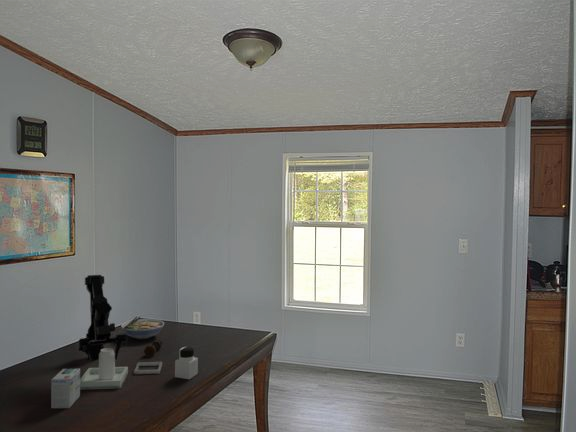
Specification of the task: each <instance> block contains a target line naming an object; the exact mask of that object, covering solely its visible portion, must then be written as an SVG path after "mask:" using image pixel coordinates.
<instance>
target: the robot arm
mask: <svg viewBox="0 0 576 432" xmlns="http://www.w3.org/2000/svg"><path fill="white" fill-rule="evenodd" d="M84 285H85V286H86V291H87V292H88V293H89V299H90V301H89V304H90V306H89V308H90V325H89V327H88V329H87V333H86V336H85V337H83V338H79V339H78V347H77V348H78V349H77V350H78V351H79V352H82V353H85V354H86V356H87V357H86V360H89V361H91V363H94V360H99V353H100V352H101V349H104V348H105V346H104V345H106V344H114V343H115V346H114V347H115V348H114V352H115V361H116V360H118V357H119V351H120V349H122V348H123V347H124V346H126V345H127V341H128V335H127V334H126V333H120V334H118V333H117V334H116V337H112V338H111V336H112V334H111V333H112V332H115V331H116V323H114V322H112V323H110V324H109V318H110V312H111V311H112V308H113V307H112V306H111V305H110V303H108V298H107V297H105V295H104V290H103V287H104V285H105V276H103V275H101V274H90V275H89V274H88V275H87V276H86V277H84Z"/></svg>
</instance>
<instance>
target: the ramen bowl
mask: <svg viewBox="0 0 576 432" xmlns="http://www.w3.org/2000/svg"><path fill="white" fill-rule="evenodd" d="M164 325H165V322H164V321H163V320H160V319H155V318H154V319H152V318H145V319H144V318H143V319H142V318H141V316H139V317H138V316H135V317H134V318H133V319H132V320H129V321H125V322H123V323H121V325H120V327H121V330H122V331H123V332H124V334H126V335H127V337H128V336H129V337H131V338H134V339H137V340H147V339H150V338H151V337H154V336H156V335H157V334H159V333H160V332H161V331H162V330H163V327H164Z"/></svg>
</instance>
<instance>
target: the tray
mask: <svg viewBox="0 0 576 432" xmlns="http://www.w3.org/2000/svg"><path fill="white" fill-rule="evenodd" d="M128 374H129V366H115V376H114V377H113V378H112V379H110V380H101V379H99V367H89V368H88V369H87V370H86V371H85V372H84V374H83V375H82V376H81V377H80V391H83V390H84V391H85V390H86V391H87V390H89V391H90V390H109V389H110V390H111V389H113V390H114V389H121V388H122V386H123V384H124V383H125V380H126V378H127V377H128Z"/></svg>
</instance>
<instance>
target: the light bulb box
mask: <svg viewBox="0 0 576 432" xmlns="http://www.w3.org/2000/svg"><path fill="white" fill-rule="evenodd" d="M80 379H81V368H62V369H61V370H60V371H59V372H58V373H57V374H56V375H54V377H52V378H51V379H50V381H51V382H50V383H51V392H50V393H51V397H50V399H51V403H50V405H51V407H50V408H51V409H70V408H71V407H72V405H74V403H75V402H76V401H77V400H78V399H79V398H80V396H81V390H80Z"/></svg>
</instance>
